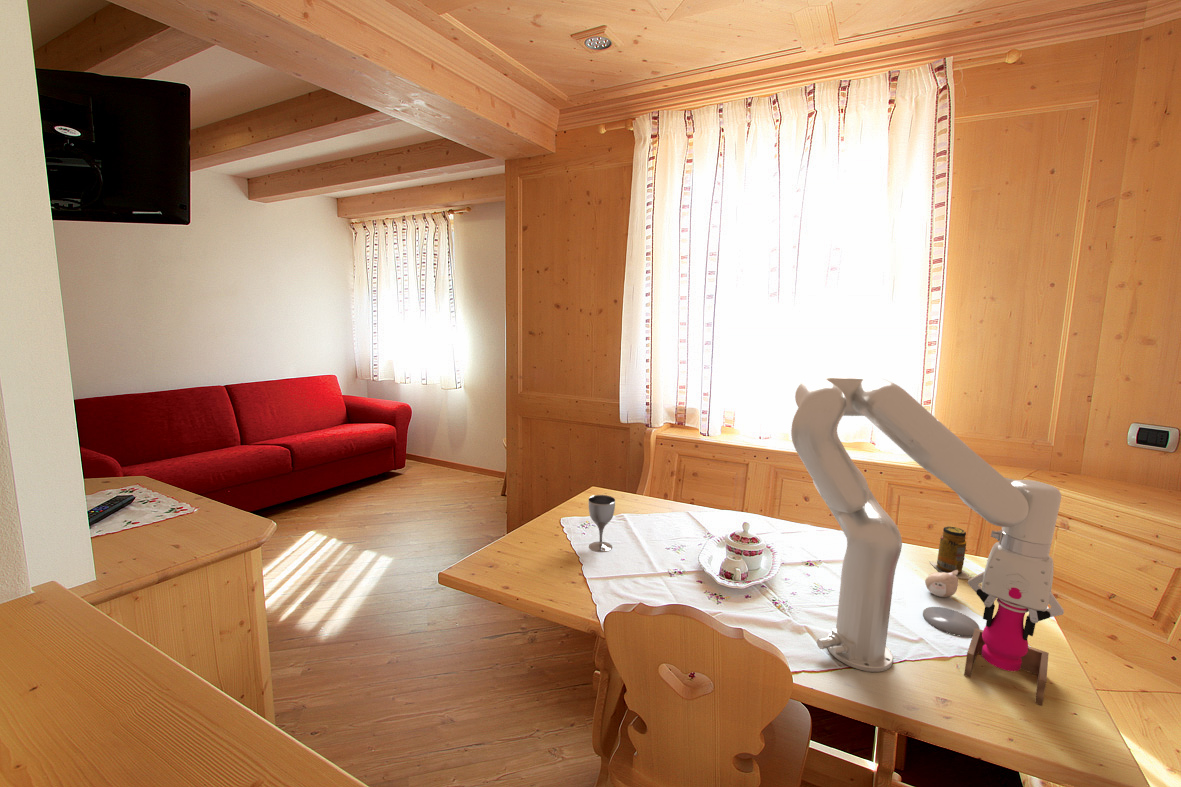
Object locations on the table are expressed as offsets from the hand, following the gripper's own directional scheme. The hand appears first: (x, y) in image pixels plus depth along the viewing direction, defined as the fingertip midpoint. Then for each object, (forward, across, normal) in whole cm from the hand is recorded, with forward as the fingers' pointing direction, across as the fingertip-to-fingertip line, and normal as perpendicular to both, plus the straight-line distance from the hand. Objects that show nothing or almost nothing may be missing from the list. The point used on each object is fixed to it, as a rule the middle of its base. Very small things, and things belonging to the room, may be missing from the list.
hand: (1006, 629), depth 104 cm
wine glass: (+13, -95, -13) cm, 97 cm away
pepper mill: (+7, 0, 0) cm, 7 cm away
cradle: (+10, +1, +1) cm, 10 cm away
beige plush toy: (+10, -14, +28) cm, 33 cm away
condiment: (+10, -15, +45) cm, 49 cm away
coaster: (+10, -10, +15) cm, 21 cm away
